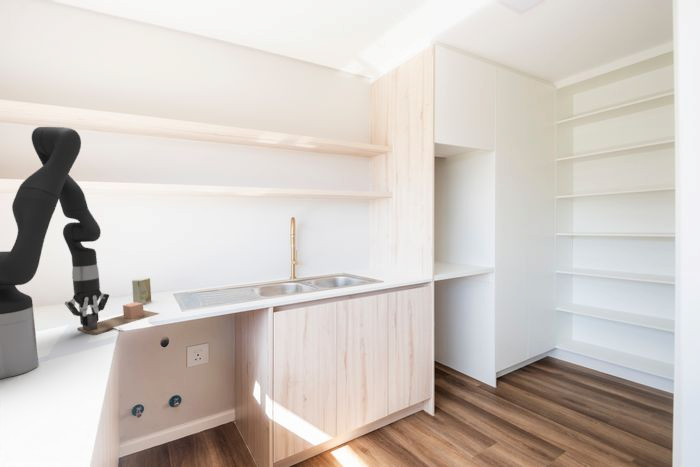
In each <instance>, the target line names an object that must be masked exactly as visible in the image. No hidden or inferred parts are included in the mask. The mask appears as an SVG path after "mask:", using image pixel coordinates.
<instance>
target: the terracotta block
mask: <svg viewBox="0 0 700 467" xmlns="http://www.w3.org/2000/svg"><path fill="white" fill-rule="evenodd" d="M122 308H123V309H122V310H123V311H122V312H123V315H124V318H128V319H134V318H137V317H141V316H144V311H143V310H144V305H143V303H138V302H134V303H133V302H131V303H130V302H129V303H125V304H124V305H122Z"/></svg>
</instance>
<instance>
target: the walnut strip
mask: <svg viewBox="0 0 700 467" xmlns="http://www.w3.org/2000/svg"><path fill="white" fill-rule="evenodd" d="M143 311H144V316H141V317H137V318H134V319H128V318H124V314H122V315H119V316H116V317H115V316H114V317H112V318H109V319H108V318H107V319H104V320H101V321H97V316H96V315H92V314H91V313H86V316H87V323H88V326H83V325H81V326H80V327H79V326H78V327H77V331H80V332H83V333H86V334H90V335H93V336H96V335H99V334H102V333H106V332H109V331H113V330H116V329H117V328H116V327H120V326H123V325H127V324H131V323H133V322H137V321H140V320H144V319H146V318H149V317H154V316H157V315H160V312H154V311H149V310H145V309H143Z"/></svg>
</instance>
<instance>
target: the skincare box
mask: <svg viewBox="0 0 700 467" xmlns="http://www.w3.org/2000/svg"><path fill="white" fill-rule="evenodd" d="M131 284H132V285H131V286H132V298H133V299H132V300H133V301H132V303H134V302H138V303H143V306H144V305H145V306H146V305H148V304H151V303H152V292H151V291H152V289H151V288H152V287H151V278H150V277H141V278H137V279H134V280H133V279H132V281H131Z"/></svg>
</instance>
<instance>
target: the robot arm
mask: <svg viewBox="0 0 700 467" xmlns="http://www.w3.org/2000/svg"><path fill="white" fill-rule="evenodd" d="M31 143H32V146H33V148H34V150H35V153H36V155H37V156H38V158H39V159H38V160H40V162H41V164H42V166H41V167H40V168H39V169H38V170H36V171H35V172H34V173H32V174H30V175H29V176H28V177H27V178H26V179H25V180H24V181H23V182H22V183H21V184H20V185H19V187H18V189H17V191H16V195H15V196H14V199H13V201H12V205H11V206H12V208H11V209H12V214H13V217H14V220H15V222H16V223H15V224H16V226H17V235H16V239H15V241H14V244H13V246H12V248H11V250H10V251H7V250H6V251H0V380H1V379H4V378H9V377H14V376H19V375H23V374H24V373H27V372H30V371H33V370H34V369H36V368H37V367H38V366H39V356H38V355H39V354H38V345H37V334H36V325H35V317H34V316H35V314H34V306H33V304H34V303H33V298H32V296H30V295H29V294H26V293H23V292H22V291H20V290H19V289H18V288H17V286H23V285H25V284H27V283H29V282H31V281H32V279H33V278H34V277H35V275H36V273H37V271H38V268H39V265H40V259H41V256H42V251H43V248H44V247H43V246H44V242H45V238H46V235H47V232H48V230H49V226H50V223H51V220H52V218H53V215H54V212H55V211H56V208H57V204H58V202H59V204H60V207H61V209H62V213H63V215H64V216H65V218H68V219H70V220H71V219H72V220H76V221H78V222H68V223H67V224H66V225H64V228H63V230H62V235H63V239H64V241H65V243H66V245H67V248H68V250H69V252H70V255H71V264H72V271H71V278H72V285H73V297H72V299H70V300H69V301H65V302H64V305H65V306H66V307H67V309H69V311H70V312H71V313H72V315H73V316H76V317H79V319H80V325H81V326H88V323H87V316H86V314H88V313H87V311H88V308H89V307H90V310H91V313H90V314H92V315H96V316H97V322H99V312H101V311H103V310H104V309H105V307H106V305H107V302H108V299H109V297H110V294H107V293H102V291H101V286H100V284H101V283H100V275H99V267H98V262H97V261H98V259H97V251H96V249H95V248H90V247H86V246H84V245H83V244H82V243H87V242H88V243H89V242H96V241H97V240H99V238H100V237H101V232H102V231H101V227H100V226H99V223H98V222H97V220H96V219H95V217H94V216H93V214H92V213H91V211H90V209H89V207H88V202H87V200H86V197H85V193H84V191H83V189H82V188H81V186H80V185H79V184H78V183H77V181H75V180H74V178H72V176H71V175H69V173H70V172H71V170H72V167H73V165H74V164H75V162H76V159H77V158H78V156H79V153H80V151H81V148H82V147H81V146H82V139H81V136H80V134H79V133H78V132H77V131H76V130H75V129H73V128H71V127H61V126H60V127H59V126H38V127H36V128H34V129H33V131H32V132H31ZM98 301H99V302H98ZM76 303H77V304H78V308H77V307H76ZM78 309H79V310H78Z"/></svg>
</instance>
